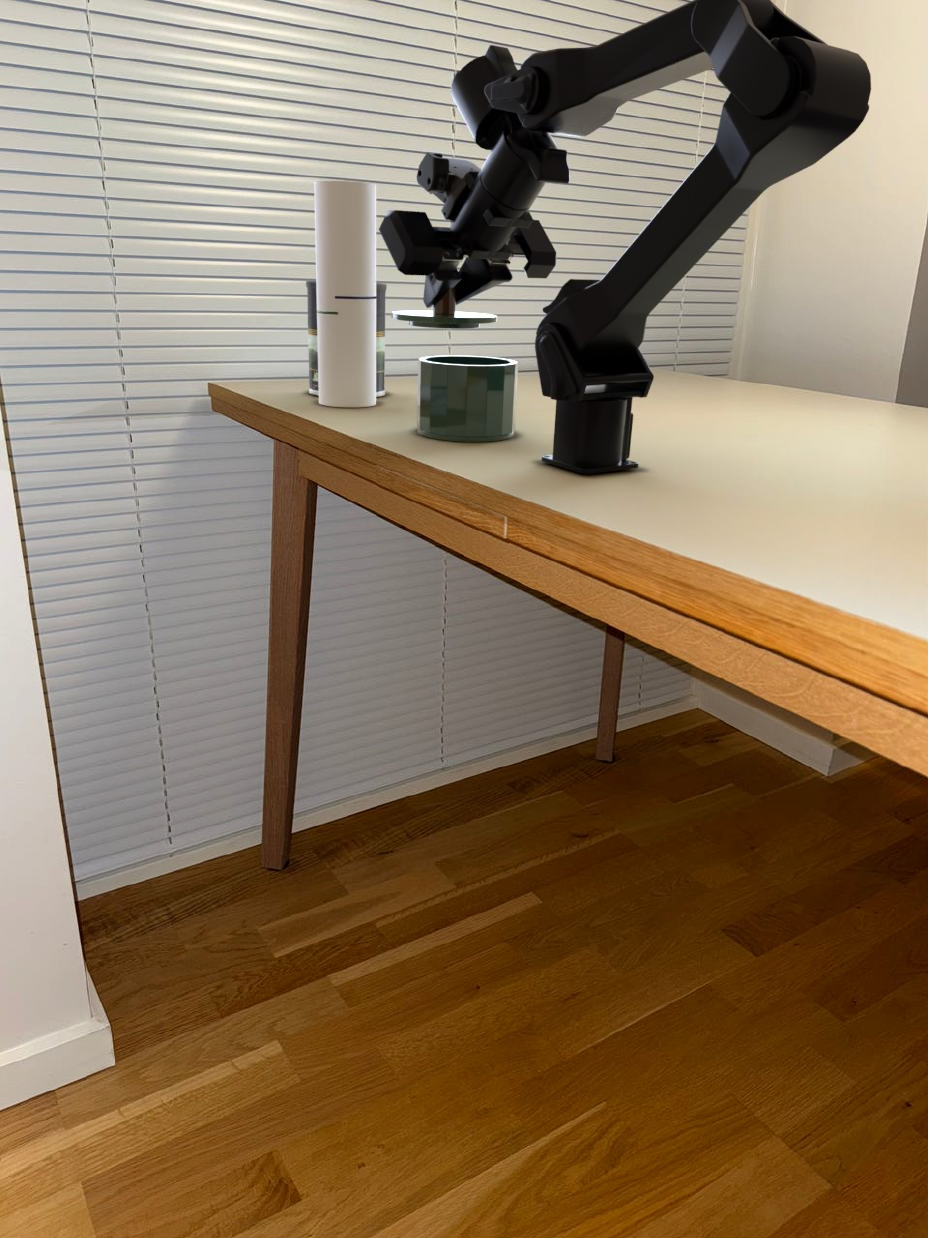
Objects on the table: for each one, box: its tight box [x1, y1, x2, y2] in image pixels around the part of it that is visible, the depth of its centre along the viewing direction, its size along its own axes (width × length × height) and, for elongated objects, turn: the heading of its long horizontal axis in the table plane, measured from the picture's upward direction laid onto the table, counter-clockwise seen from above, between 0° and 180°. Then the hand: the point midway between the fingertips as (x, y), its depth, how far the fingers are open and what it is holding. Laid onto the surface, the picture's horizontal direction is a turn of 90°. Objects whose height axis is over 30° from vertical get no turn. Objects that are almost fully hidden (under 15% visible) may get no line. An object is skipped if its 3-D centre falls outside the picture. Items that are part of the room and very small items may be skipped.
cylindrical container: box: [313, 180, 377, 408], centre depth 112 cm, size 7×7×25 cm
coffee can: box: [305, 279, 388, 398], centre depth 122 cm, size 10×10×14 cm
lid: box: [390, 285, 498, 330], centre depth 98 cm, size 11×11×6 cm
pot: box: [416, 355, 519, 443], centre depth 98 cm, size 10×10×8 cm
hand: (437, 304), depth 99 cm, fingers closed on lid, 2 cm apart
